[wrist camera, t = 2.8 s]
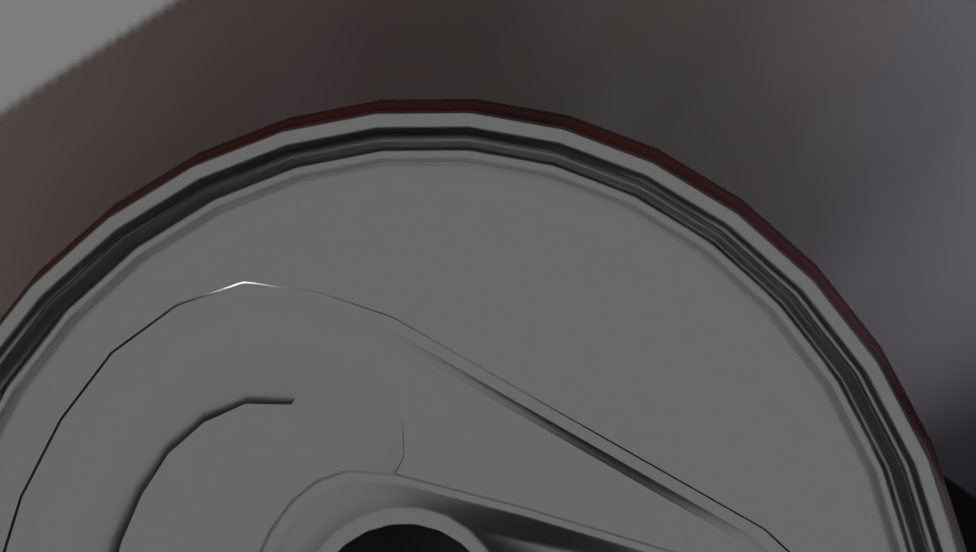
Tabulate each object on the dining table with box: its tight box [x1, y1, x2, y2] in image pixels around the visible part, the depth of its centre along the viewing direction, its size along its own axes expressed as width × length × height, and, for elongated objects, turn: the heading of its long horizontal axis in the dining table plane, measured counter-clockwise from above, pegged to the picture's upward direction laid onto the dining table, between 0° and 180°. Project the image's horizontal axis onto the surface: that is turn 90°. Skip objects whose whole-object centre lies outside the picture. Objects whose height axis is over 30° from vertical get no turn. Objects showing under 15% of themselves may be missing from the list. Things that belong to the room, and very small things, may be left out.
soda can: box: [0, 99, 967, 552], centre depth 10 cm, size 7×7×12 cm
